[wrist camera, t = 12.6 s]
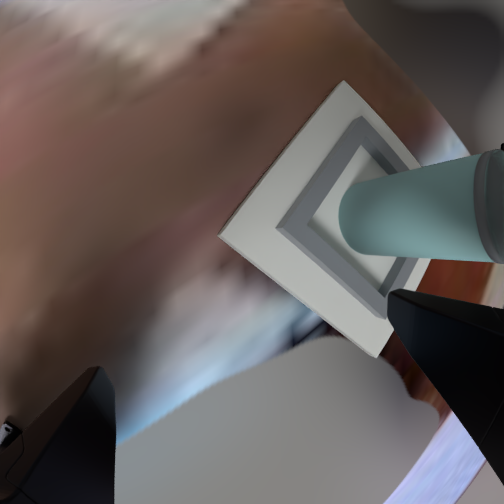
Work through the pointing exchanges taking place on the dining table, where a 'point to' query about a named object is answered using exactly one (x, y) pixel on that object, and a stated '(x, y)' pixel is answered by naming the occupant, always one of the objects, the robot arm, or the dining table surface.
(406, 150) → the dock
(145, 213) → the dining table surface
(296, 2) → the dining table surface
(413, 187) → the cup
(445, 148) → the dining table surface
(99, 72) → the dining table surface
